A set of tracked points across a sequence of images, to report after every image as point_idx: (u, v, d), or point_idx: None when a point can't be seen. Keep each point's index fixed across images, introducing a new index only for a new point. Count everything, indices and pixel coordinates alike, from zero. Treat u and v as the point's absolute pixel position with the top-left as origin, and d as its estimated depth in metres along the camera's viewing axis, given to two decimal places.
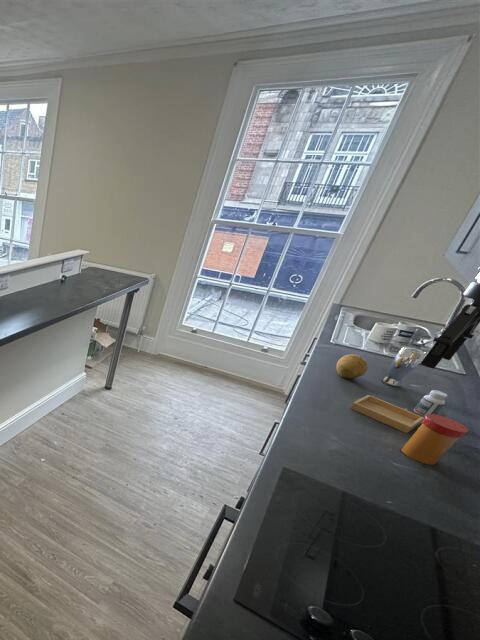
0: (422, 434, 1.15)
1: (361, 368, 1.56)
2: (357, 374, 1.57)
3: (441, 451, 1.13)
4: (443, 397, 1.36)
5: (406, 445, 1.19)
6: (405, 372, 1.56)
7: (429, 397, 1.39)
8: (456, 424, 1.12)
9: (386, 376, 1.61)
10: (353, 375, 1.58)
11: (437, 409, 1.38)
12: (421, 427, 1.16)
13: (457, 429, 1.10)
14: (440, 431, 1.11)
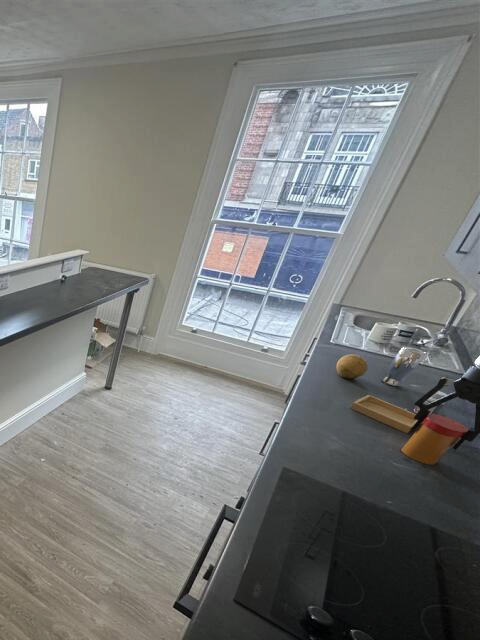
0: (422, 434, 1.15)
1: (361, 368, 1.56)
2: (357, 374, 1.57)
3: (441, 451, 1.13)
4: None
5: (406, 445, 1.19)
6: (405, 372, 1.56)
7: None
8: (456, 424, 1.12)
9: (386, 376, 1.61)
10: (353, 375, 1.58)
11: (437, 409, 1.38)
12: (421, 427, 1.16)
13: (457, 429, 1.10)
14: (440, 431, 1.11)
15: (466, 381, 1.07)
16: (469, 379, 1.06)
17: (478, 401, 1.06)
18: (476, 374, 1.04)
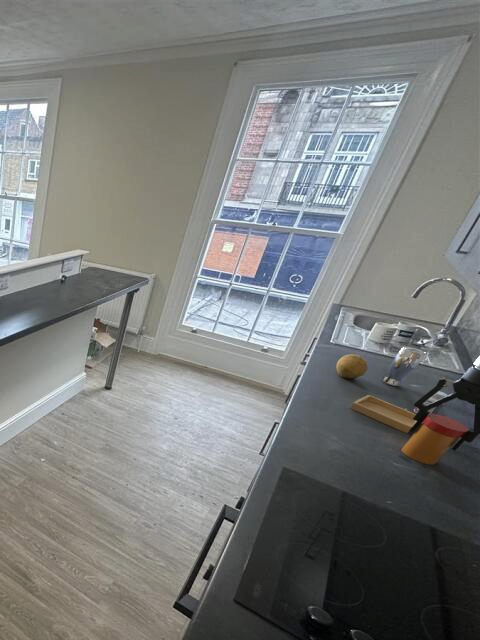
0: (422, 434, 1.15)
1: (361, 368, 1.56)
2: (357, 374, 1.57)
3: (441, 451, 1.13)
4: (443, 397, 1.36)
5: (406, 445, 1.19)
6: (405, 372, 1.56)
7: None
8: (441, 418, 1.14)
9: (386, 376, 1.61)
10: (353, 375, 1.58)
11: (437, 409, 1.38)
12: (421, 427, 1.16)
13: (459, 424, 1.12)
14: None
15: (465, 382, 1.08)
16: (468, 380, 1.06)
17: (477, 402, 1.06)
18: (476, 375, 1.04)
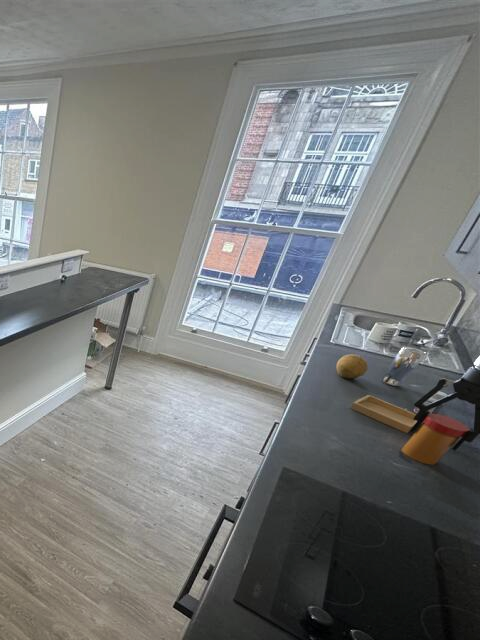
0: (422, 434, 1.15)
1: (361, 368, 1.56)
2: (357, 374, 1.57)
3: (441, 451, 1.13)
4: (443, 397, 1.36)
5: (406, 445, 1.19)
6: (405, 372, 1.56)
7: None
8: (438, 420, 1.13)
9: (386, 376, 1.61)
10: (353, 375, 1.58)
11: (437, 409, 1.38)
12: (421, 427, 1.16)
13: (438, 415, 1.15)
14: None
15: (465, 382, 1.08)
16: (468, 380, 1.06)
17: (477, 402, 1.06)
18: (476, 375, 1.04)
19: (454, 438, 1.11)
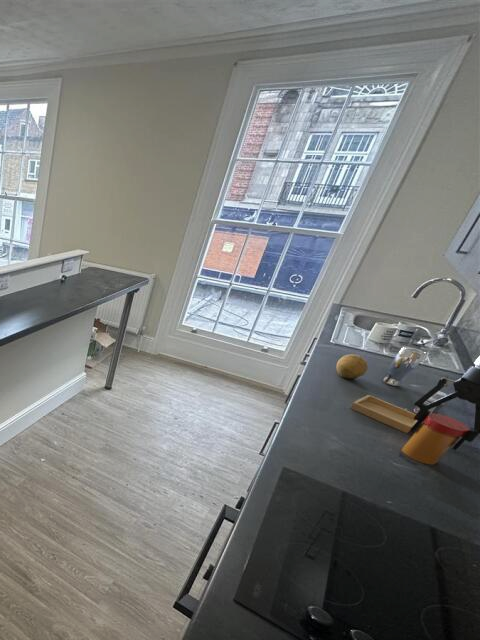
0: (432, 439, 1.13)
1: (361, 368, 1.56)
2: (357, 374, 1.57)
3: (447, 450, 1.14)
4: None
5: (412, 450, 1.17)
6: (405, 372, 1.56)
7: None
8: (454, 426, 1.10)
9: (386, 376, 1.61)
10: (353, 375, 1.58)
11: (437, 409, 1.38)
12: (427, 432, 1.14)
13: (435, 419, 1.13)
14: (424, 418, 1.16)
15: (466, 381, 1.07)
16: (469, 379, 1.06)
17: (478, 401, 1.06)
18: (476, 375, 1.04)
19: (459, 437, 1.11)
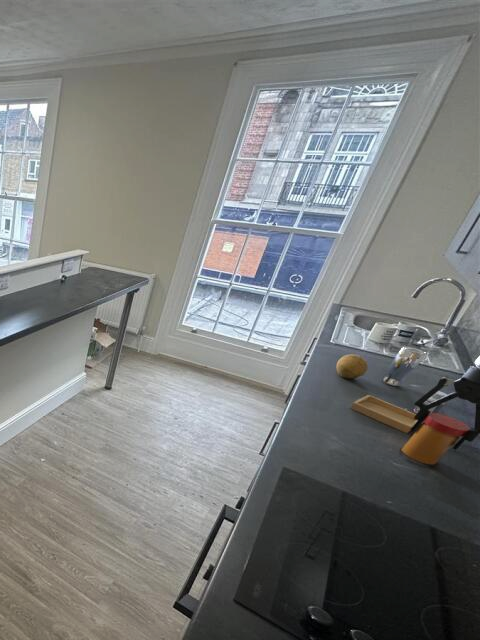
0: (432, 439, 1.13)
1: (361, 368, 1.56)
2: (357, 374, 1.57)
3: (447, 450, 1.14)
4: None
5: (412, 450, 1.17)
6: (405, 372, 1.56)
7: None
8: (457, 423, 1.12)
9: (386, 376, 1.61)
10: (353, 375, 1.58)
11: (437, 409, 1.38)
12: (427, 432, 1.14)
13: (458, 428, 1.10)
14: (441, 429, 1.11)
15: (466, 381, 1.07)
16: (469, 379, 1.06)
17: (478, 401, 1.06)
18: (477, 374, 1.04)
19: (459, 437, 1.11)
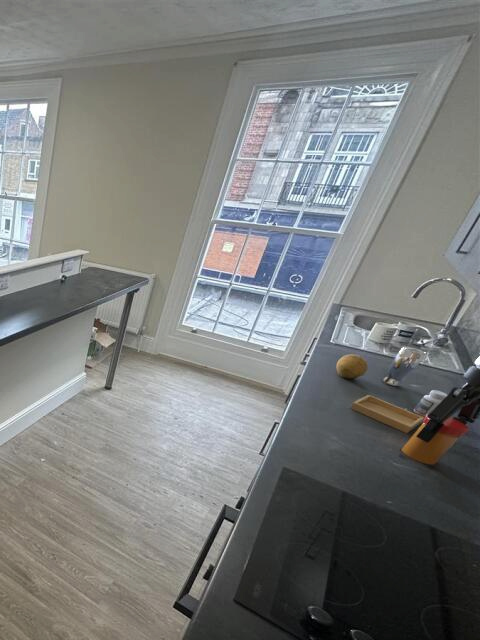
0: (432, 439, 1.13)
1: (361, 368, 1.56)
2: (357, 374, 1.57)
3: (447, 450, 1.14)
4: (443, 397, 1.36)
5: (412, 450, 1.17)
6: (405, 372, 1.56)
7: (429, 397, 1.39)
8: None
9: (386, 376, 1.61)
10: (353, 375, 1.58)
11: None
12: None
13: (462, 425, 1.11)
14: (462, 434, 1.10)
15: (479, 387, 1.05)
16: None
17: None
18: None
19: (459, 437, 1.11)
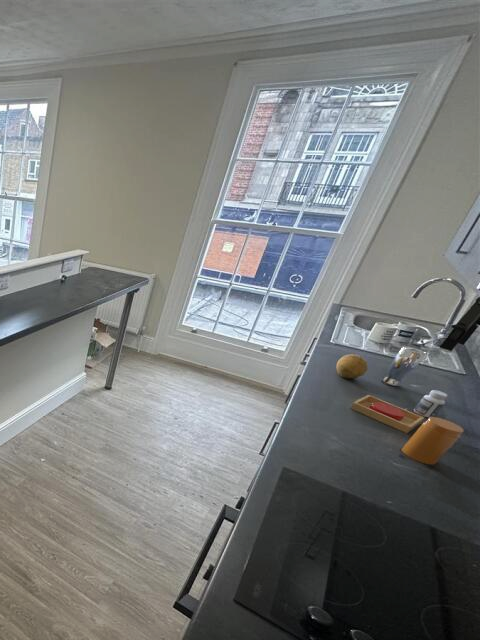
0: (432, 439, 1.13)
1: (361, 368, 1.56)
2: (357, 374, 1.57)
3: (447, 450, 1.14)
4: (443, 397, 1.36)
5: (412, 450, 1.17)
6: (405, 372, 1.56)
7: (429, 397, 1.39)
8: (384, 405, 1.39)
9: (386, 376, 1.61)
10: (353, 375, 1.58)
11: (437, 409, 1.38)
12: (427, 432, 1.14)
13: (398, 410, 1.37)
14: (401, 419, 1.35)
15: None
16: None
17: None
18: None
19: (459, 437, 1.11)
